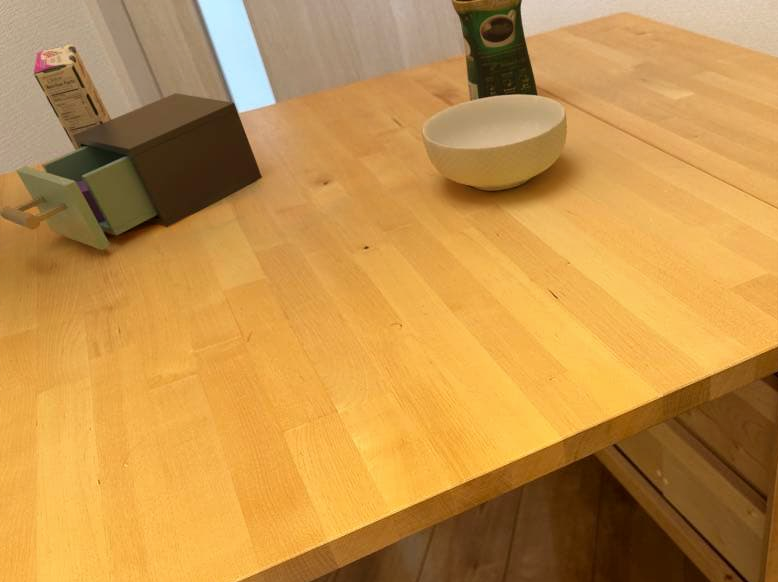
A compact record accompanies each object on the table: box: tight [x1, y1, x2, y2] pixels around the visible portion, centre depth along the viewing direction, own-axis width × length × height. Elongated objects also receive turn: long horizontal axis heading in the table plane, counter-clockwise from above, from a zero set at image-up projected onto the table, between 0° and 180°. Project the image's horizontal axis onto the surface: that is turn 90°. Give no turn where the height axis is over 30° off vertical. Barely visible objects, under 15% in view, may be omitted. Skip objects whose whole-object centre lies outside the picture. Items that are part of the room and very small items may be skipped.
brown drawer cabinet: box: [73, 93, 263, 228], centre depth 97 cm, size 15×13×10 cm
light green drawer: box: [0, 145, 157, 251], centre depth 90 cm, size 18×12×8 cm, turn 145°
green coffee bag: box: [451, 0, 538, 101], centre depth 105 cm, size 10×8×19 cm
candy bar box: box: [32, 43, 112, 151], centre depth 102 cm, size 11×5×16 cm, turn 25°
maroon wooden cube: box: [76, 180, 105, 223], centre depth 91 cm, size 4×4×4 cm
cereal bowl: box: [421, 95, 568, 191], centre depth 89 cm, size 17×17×7 cm
